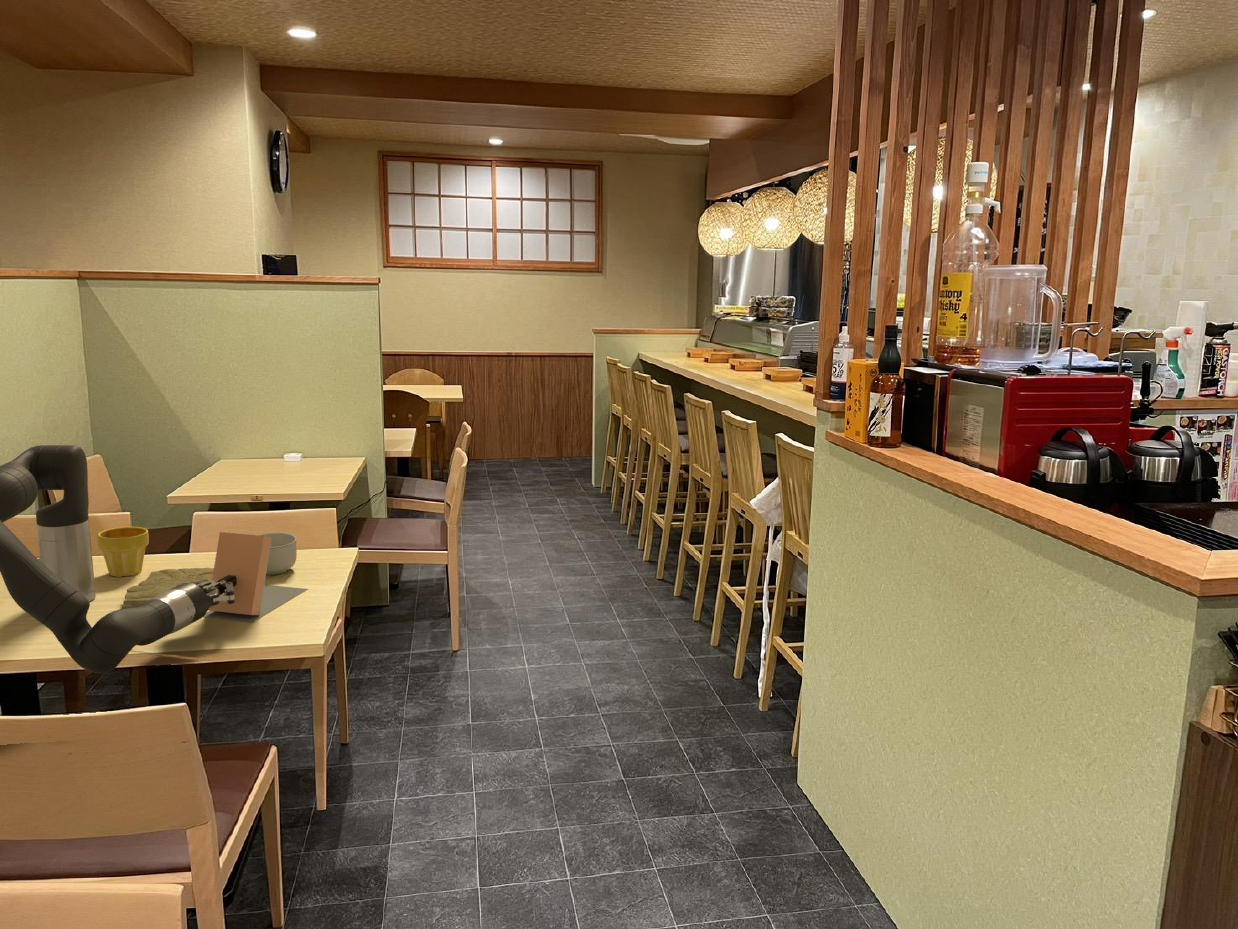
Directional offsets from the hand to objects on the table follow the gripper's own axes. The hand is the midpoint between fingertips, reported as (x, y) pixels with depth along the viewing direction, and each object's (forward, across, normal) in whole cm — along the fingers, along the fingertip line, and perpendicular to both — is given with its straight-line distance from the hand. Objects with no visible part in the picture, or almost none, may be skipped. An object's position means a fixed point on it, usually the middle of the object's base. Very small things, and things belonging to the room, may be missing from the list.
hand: (233, 580), depth 180 cm
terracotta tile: (0, 0, -7) cm, 7 cm away
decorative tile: (+8, -20, -9) cm, 23 cm away
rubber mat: (+8, 0, -8) cm, 11 cm away
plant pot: (+18, -40, -8) cm, 45 cm away
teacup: (+28, -11, -8) cm, 31 cm away
